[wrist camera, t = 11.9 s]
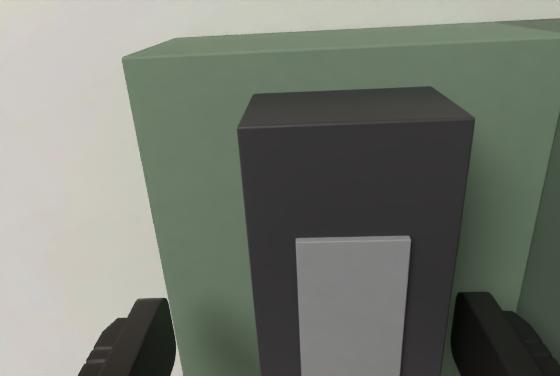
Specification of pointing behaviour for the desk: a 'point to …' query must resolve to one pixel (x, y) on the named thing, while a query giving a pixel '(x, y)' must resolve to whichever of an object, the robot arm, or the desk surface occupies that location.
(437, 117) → the remote
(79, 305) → the desk surface
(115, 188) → the desk surface
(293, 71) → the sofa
